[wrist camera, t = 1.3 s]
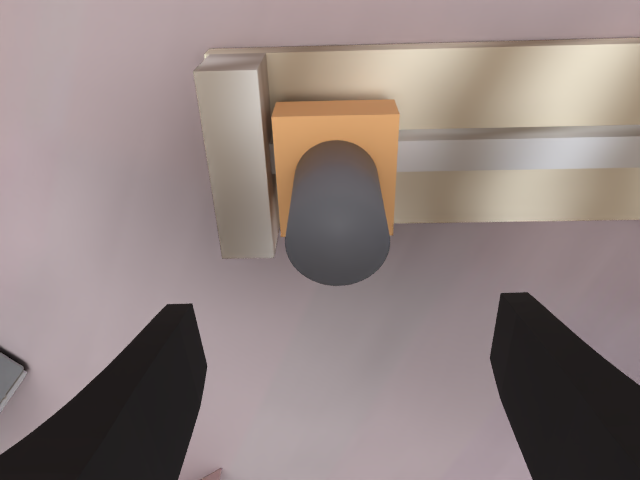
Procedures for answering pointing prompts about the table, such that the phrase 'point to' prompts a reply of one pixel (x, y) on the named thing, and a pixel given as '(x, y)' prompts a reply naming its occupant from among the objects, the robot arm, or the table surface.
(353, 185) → the carriage
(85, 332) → the table surface
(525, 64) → the rail
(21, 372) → the hard drive box
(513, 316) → the robot arm
